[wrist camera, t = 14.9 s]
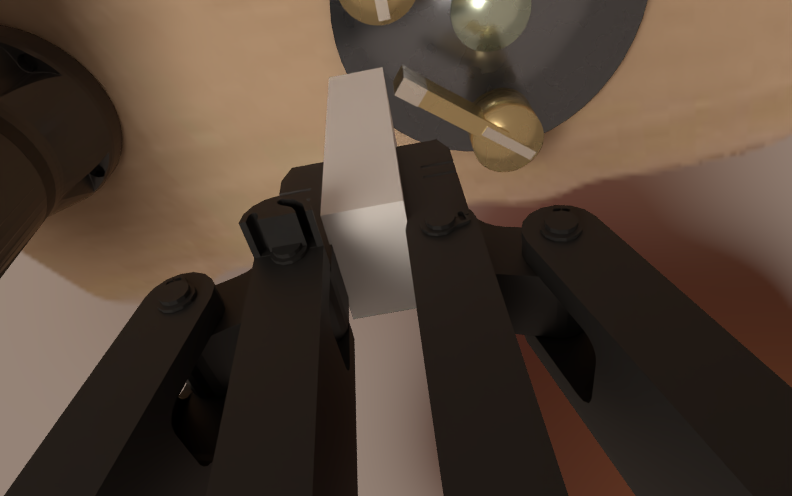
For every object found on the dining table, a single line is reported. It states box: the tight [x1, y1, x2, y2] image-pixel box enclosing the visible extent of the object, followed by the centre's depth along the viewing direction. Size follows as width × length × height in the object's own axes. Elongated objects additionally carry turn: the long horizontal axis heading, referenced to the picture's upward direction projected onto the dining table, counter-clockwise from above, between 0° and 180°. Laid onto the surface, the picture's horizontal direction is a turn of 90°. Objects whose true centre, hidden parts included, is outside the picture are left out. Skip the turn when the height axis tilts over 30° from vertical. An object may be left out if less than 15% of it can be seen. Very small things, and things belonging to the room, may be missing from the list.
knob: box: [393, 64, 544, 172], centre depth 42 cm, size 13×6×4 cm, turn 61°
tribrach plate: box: [330, 0, 647, 151], centre depth 39 cm, size 24×24×2 cm
